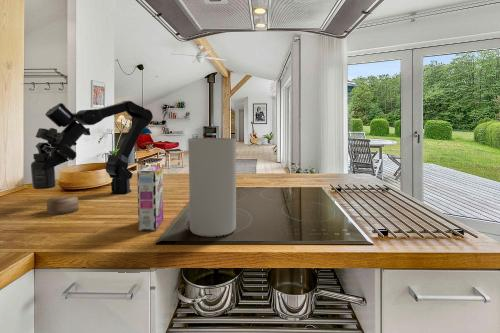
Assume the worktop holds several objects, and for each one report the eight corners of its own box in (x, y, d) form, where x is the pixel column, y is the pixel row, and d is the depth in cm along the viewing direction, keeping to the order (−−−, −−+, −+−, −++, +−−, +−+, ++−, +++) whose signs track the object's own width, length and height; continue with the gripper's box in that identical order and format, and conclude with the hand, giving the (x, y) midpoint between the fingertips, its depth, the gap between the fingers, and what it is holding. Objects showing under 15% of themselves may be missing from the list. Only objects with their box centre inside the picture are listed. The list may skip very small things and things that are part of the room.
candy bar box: (157, 231, 85) (155, 171, 83) (138, 231, 85) (135, 171, 83) (164, 219, 96) (163, 166, 94) (148, 219, 96) (146, 166, 94)
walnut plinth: (83, 207, 109) (82, 195, 109) (72, 214, 101) (71, 202, 100) (55, 207, 108) (54, 196, 108) (41, 215, 99) (40, 203, 99)
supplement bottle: (60, 186, 112) (58, 152, 110) (42, 190, 105) (39, 154, 104) (46, 185, 114) (43, 152, 112) (27, 188, 107) (24, 153, 106)
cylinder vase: (236, 237, 81) (236, 139, 78) (187, 238, 80) (185, 139, 77) (235, 222, 93) (235, 138, 90) (192, 223, 92) (191, 137, 89)
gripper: (39, 120, 115) (6, 152, 107) (64, 120, 104) (29, 155, 97) (63, 141, 122) (34, 172, 115) (89, 142, 112) (58, 177, 104)
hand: (38, 169), depth 108 cm, fingers closed on supplement bottle, 7 cm apart
